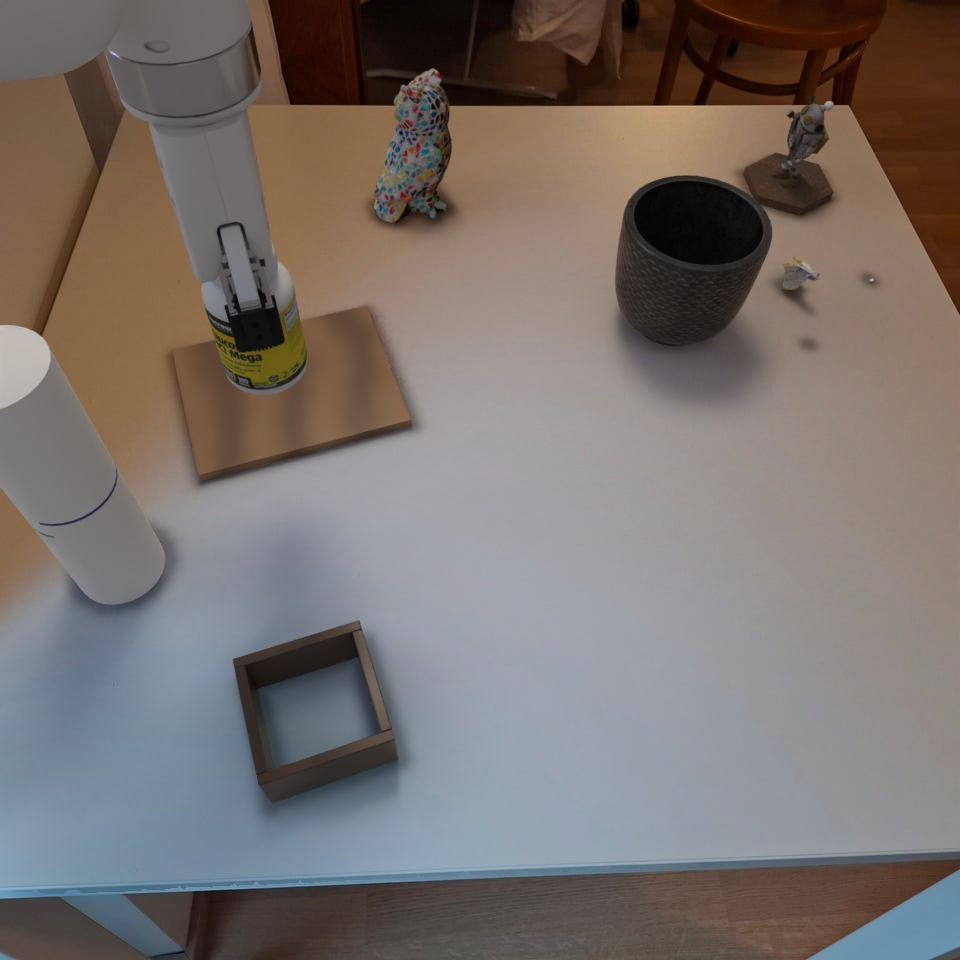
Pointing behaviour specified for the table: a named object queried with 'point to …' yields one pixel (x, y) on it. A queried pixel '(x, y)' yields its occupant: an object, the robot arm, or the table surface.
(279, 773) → the holder
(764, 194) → the robot figurine
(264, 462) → the board
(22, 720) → the table surface
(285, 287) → the pill bottle
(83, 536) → the cylindrical container
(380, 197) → the figurine
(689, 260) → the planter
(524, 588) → the table surface
